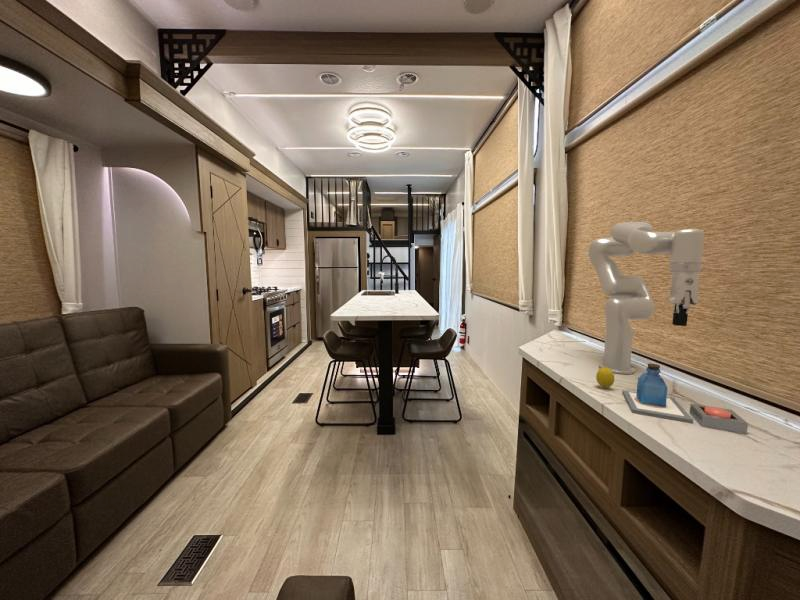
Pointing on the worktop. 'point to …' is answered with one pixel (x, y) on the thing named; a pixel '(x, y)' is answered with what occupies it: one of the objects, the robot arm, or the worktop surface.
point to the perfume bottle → (652, 387)
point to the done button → (717, 412)
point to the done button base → (719, 420)
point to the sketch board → (657, 408)
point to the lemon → (605, 377)
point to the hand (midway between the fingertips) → (679, 325)
